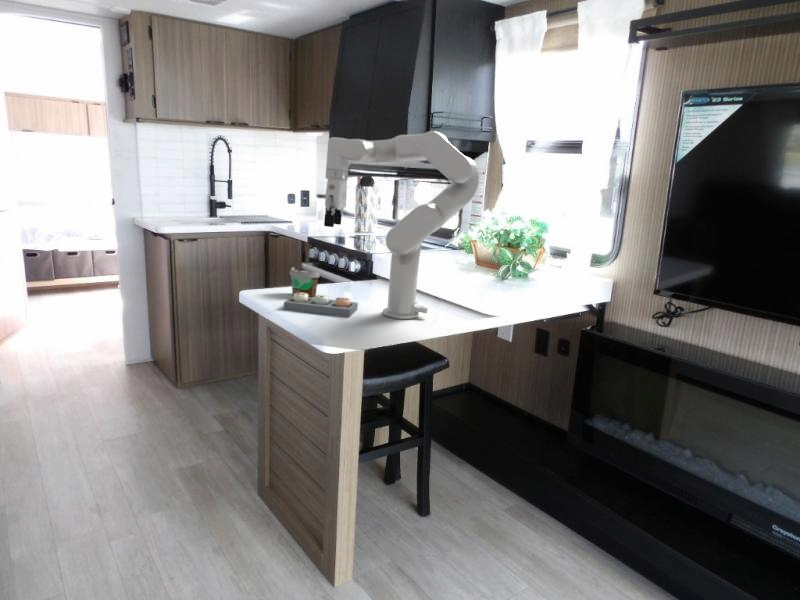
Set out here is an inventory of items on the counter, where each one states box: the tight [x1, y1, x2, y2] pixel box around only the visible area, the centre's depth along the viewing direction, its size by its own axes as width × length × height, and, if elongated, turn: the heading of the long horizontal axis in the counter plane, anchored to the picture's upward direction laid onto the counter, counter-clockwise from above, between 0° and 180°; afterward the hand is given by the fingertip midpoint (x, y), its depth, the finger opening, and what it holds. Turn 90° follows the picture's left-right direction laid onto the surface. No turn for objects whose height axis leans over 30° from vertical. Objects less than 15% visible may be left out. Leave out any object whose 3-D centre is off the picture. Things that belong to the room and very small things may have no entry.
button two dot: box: [293, 293, 308, 303], centre depth 195 cm, size 5×5×3 cm
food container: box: [289, 266, 320, 297], centre depth 210 cm, size 12×6×10 cm, turn 62°
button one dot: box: [314, 294, 330, 305], centre depth 194 cm, size 5×5×3 cm
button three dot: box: [335, 296, 351, 308], centre depth 193 cm, size 5×5×3 cm
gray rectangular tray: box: [283, 295, 359, 318], centre depth 194 cm, size 23×11×3 cm, turn 80°
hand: (332, 225), depth 196 cm, fingers open, 9 cm apart
